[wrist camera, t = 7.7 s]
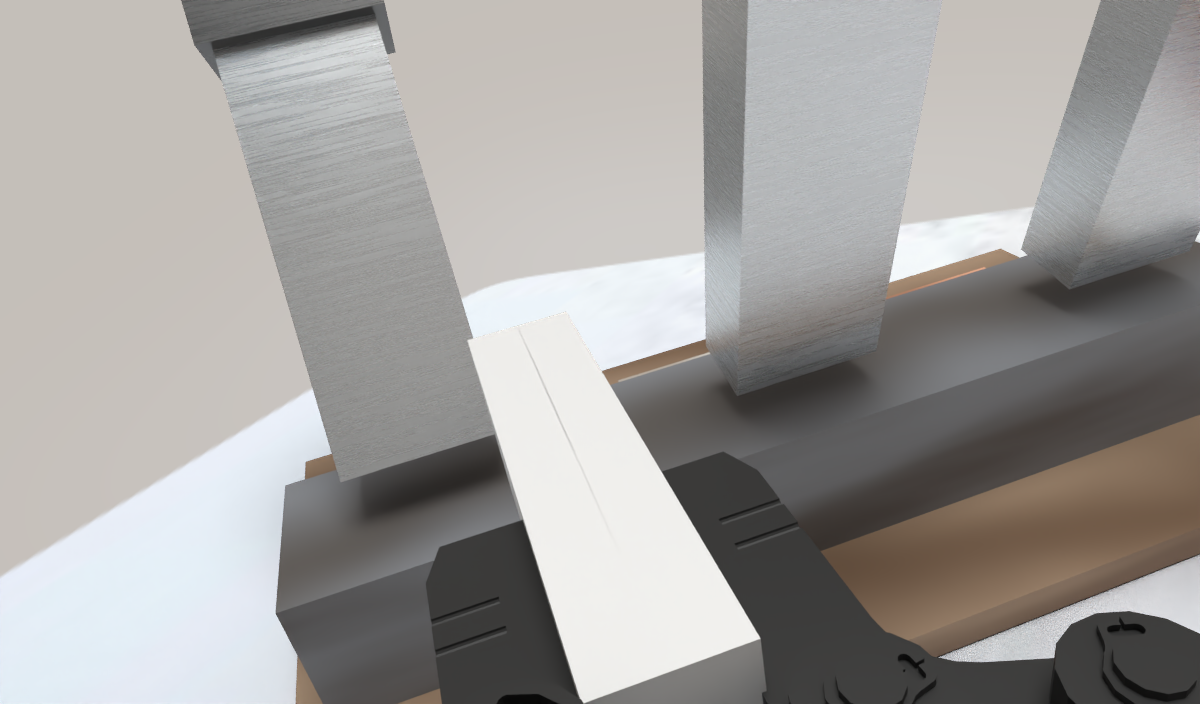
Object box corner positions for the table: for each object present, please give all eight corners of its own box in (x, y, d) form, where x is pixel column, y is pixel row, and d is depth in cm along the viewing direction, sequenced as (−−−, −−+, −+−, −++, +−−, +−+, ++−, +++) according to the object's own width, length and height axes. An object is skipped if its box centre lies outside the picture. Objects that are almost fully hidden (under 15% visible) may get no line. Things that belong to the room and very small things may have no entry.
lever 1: (514, 428, 20) (347, -118, 21) (325, 487, 20) (157, -81, 20) (509, 427, 23) (362, -55, 24) (343, 479, 22) (196, -20, 23)
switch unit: (1400, 474, 23) (1461, 315, 20) (305, 904, 18) (211, 763, 16) (999, 269, 37) (1006, 159, 34) (314, 482, 32) (266, 371, 29)
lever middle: (894, 357, 22) (1042, -342, 12) (733, 410, 21) (748, -290, 11) (839, 294, 24) (927, -352, 14) (690, 340, 23) (671, -308, 13)
